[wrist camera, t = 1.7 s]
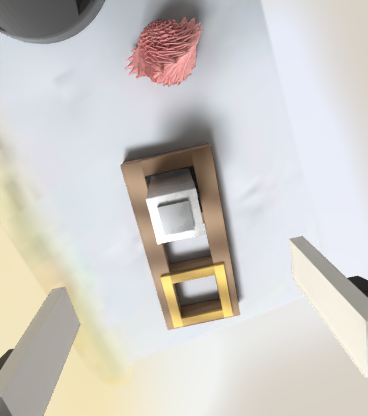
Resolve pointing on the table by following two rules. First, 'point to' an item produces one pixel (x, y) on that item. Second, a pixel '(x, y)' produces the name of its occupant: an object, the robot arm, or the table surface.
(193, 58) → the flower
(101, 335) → the table surface
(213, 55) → the table surface
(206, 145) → the board
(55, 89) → the table surface
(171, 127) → the table surface
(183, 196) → the block
